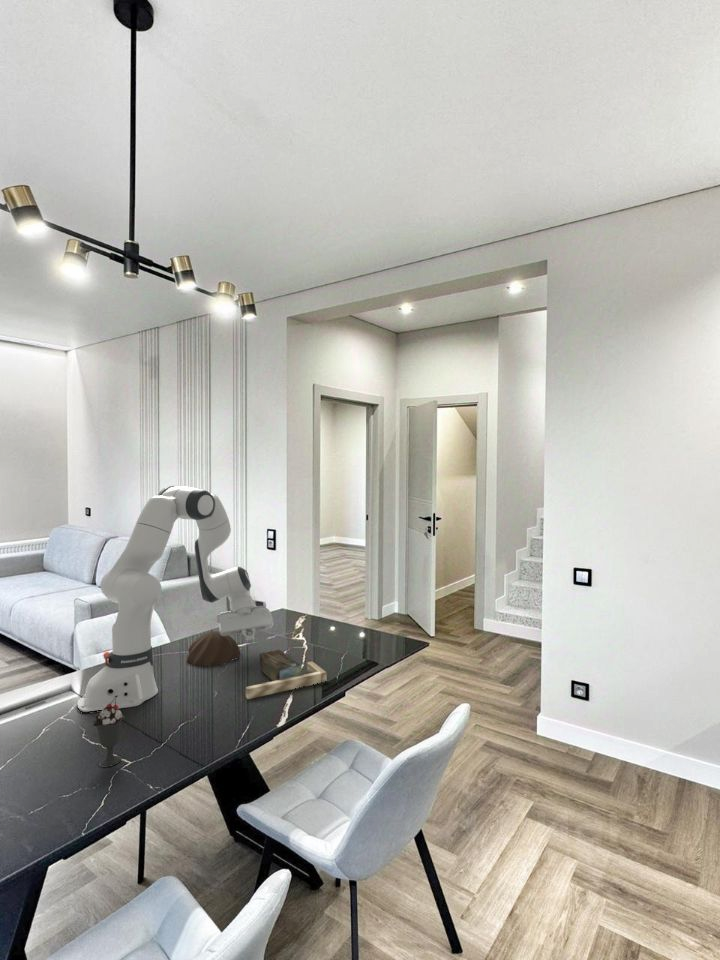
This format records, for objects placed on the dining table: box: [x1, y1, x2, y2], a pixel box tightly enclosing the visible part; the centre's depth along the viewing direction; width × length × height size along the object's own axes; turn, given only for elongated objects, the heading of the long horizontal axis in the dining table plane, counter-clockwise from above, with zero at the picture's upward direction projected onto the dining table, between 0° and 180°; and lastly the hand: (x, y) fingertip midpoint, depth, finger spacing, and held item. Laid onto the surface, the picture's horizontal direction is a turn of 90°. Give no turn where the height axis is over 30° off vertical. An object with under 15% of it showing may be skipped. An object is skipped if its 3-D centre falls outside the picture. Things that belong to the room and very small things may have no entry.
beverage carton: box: [259, 649, 302, 682], centre depth 175 cm, size 8×19×7 cm, turn 30°
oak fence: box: [245, 661, 328, 700], centre depth 168 cm, size 26×12×3 cm, turn 118°
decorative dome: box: [186, 630, 241, 667], centre depth 197 cm, size 19×20×10 cm
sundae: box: [92, 695, 126, 766], centre depth 123 cm, size 7×7×15 cm
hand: (250, 641), depth 193 cm, fingers closed
